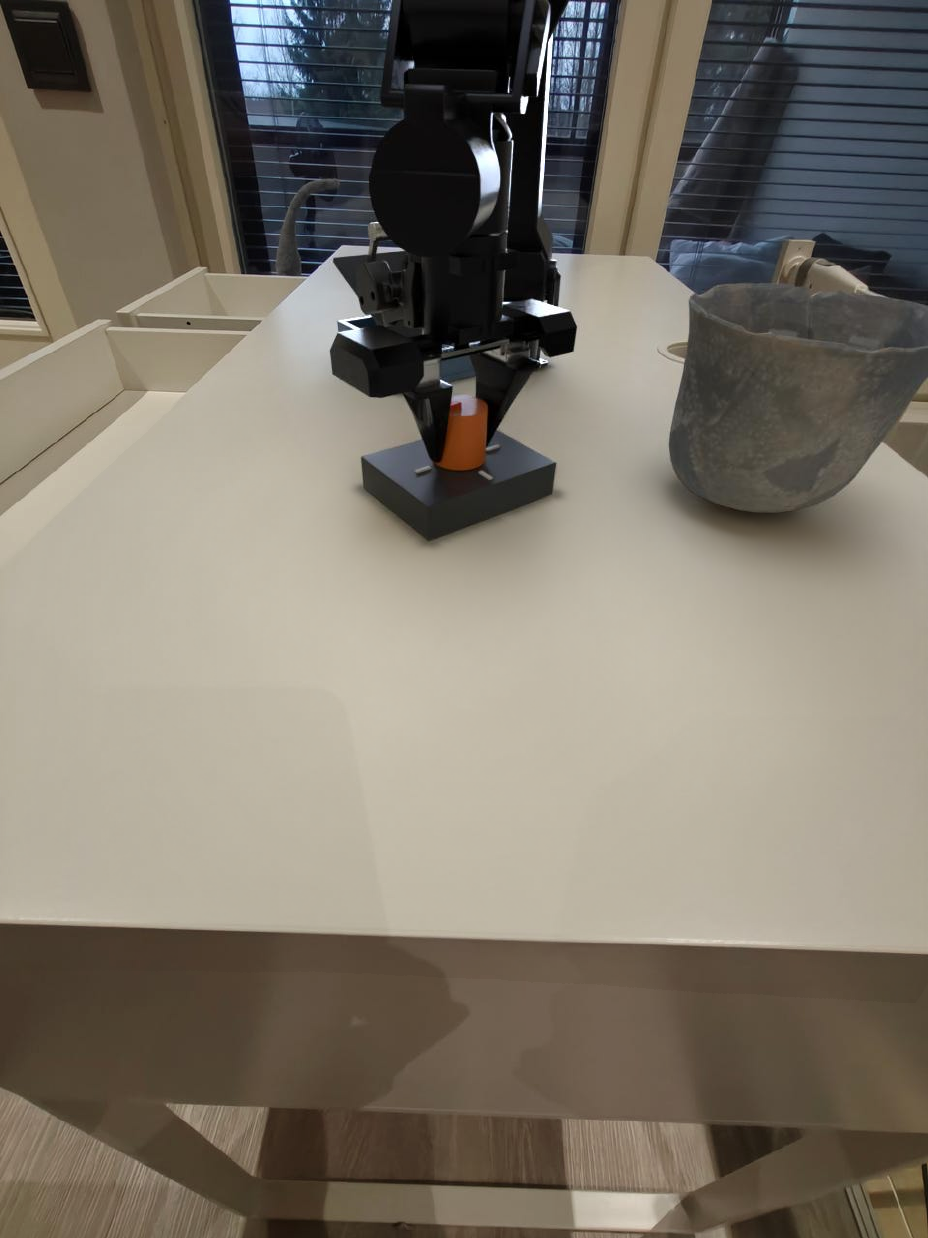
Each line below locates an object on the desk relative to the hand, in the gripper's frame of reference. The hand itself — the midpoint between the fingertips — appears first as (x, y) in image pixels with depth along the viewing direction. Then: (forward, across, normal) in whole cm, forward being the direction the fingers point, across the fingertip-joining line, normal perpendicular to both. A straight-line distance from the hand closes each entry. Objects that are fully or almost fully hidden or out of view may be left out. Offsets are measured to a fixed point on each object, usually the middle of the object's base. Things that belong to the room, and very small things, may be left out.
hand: (458, 453), depth 49 cm
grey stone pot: (+4, -21, +15) cm, 26 cm away
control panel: (+4, 0, 0) cm, 4 cm away
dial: (0, 0, 0) cm, 0 cm away
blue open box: (+4, -14, -29) cm, 32 cm away
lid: (-4, -14, -29) cm, 32 cm away
